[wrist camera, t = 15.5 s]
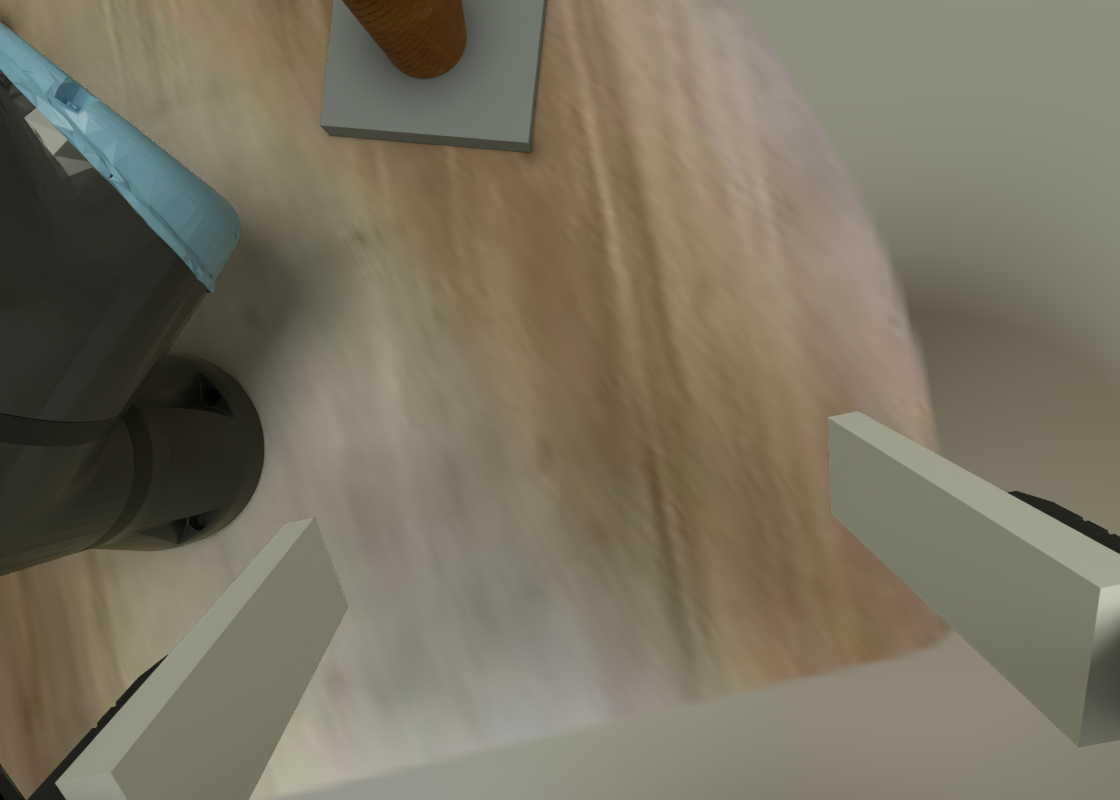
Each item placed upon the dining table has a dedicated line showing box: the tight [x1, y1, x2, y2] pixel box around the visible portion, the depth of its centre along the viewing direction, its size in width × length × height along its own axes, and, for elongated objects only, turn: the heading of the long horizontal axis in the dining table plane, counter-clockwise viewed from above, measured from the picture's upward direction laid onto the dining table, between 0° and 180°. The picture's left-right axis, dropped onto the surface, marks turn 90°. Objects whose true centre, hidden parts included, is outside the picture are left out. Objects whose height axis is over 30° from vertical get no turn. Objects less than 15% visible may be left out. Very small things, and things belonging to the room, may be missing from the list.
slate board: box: [320, 0, 547, 152], centre depth 40 cm, size 16×16×2 cm
